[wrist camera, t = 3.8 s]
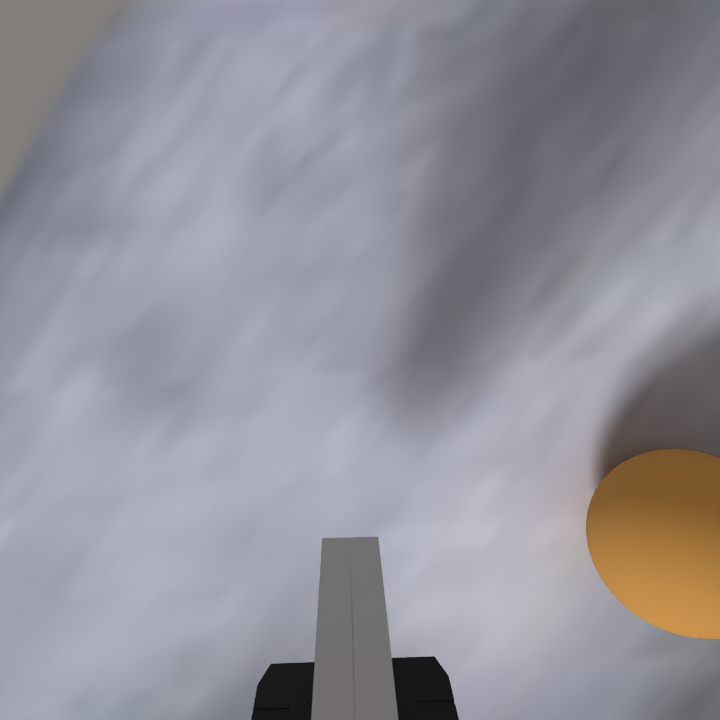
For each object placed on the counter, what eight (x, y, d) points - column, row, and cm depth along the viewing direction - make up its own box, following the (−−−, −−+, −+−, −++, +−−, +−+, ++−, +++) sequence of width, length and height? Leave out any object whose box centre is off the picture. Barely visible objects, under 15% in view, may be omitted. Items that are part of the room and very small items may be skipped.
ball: (724, 421, 18) (876, 503, 13) (699, 558, 20) (828, 683, 15) (567, 423, 18) (656, 507, 13) (553, 561, 20) (628, 688, 14)
